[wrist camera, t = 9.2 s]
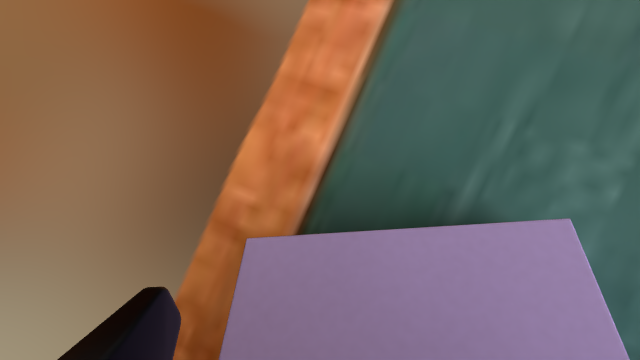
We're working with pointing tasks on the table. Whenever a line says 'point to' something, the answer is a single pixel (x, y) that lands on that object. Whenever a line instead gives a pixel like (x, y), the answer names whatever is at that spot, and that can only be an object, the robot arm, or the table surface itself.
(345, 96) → the table surface
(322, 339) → the purple square slab
